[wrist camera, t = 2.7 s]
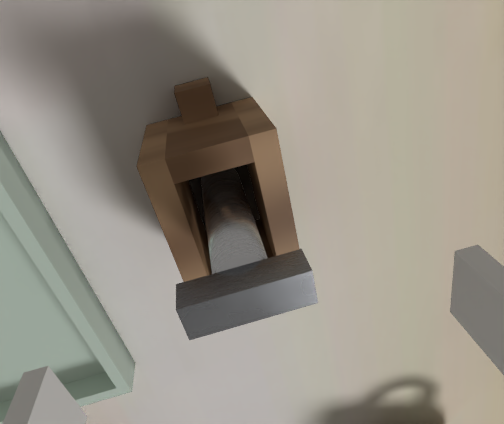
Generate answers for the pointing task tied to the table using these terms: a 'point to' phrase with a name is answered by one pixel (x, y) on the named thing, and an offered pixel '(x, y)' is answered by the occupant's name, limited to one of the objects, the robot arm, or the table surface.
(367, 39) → the table surface
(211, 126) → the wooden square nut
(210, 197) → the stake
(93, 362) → the tray
